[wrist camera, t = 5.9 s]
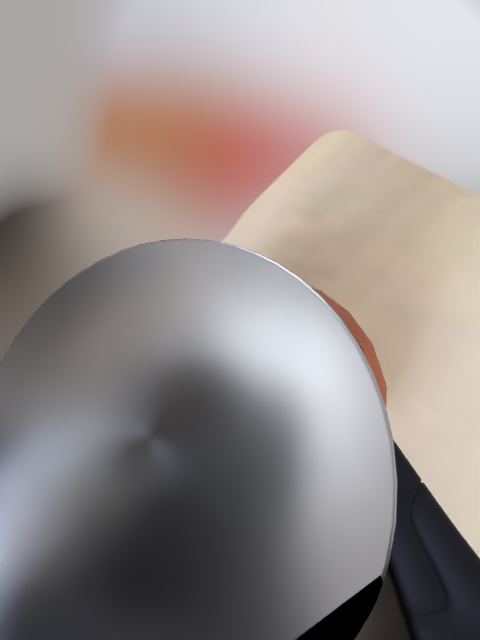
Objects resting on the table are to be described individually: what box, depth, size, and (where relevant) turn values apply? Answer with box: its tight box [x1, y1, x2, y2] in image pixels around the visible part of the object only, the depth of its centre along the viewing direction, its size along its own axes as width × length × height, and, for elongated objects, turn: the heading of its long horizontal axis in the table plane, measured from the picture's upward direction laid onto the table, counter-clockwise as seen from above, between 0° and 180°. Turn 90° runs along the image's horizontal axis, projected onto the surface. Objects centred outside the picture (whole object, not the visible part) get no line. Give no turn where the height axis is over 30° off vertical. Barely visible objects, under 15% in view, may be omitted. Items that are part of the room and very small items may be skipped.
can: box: [0, 239, 397, 640], centre depth 8 cm, size 5×5×12 cm
